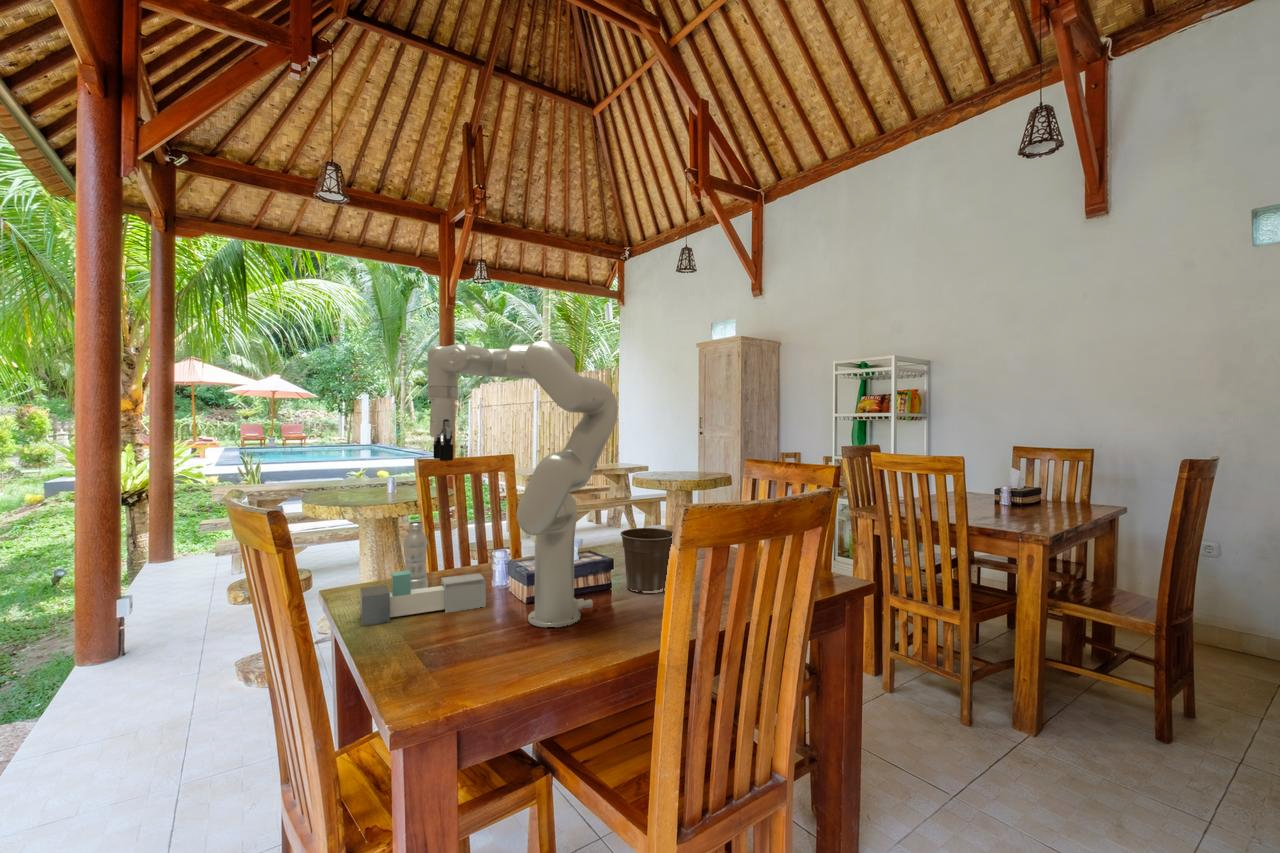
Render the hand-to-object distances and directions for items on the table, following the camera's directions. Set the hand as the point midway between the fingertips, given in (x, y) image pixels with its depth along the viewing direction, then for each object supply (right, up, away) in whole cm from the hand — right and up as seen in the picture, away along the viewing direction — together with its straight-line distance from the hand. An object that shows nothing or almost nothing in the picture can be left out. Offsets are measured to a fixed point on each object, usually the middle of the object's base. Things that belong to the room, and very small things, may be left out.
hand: (443, 459), depth 150 cm
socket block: (-13, -38, -10) cm, 42 cm away
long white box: (-6, -38, -6) cm, 39 cm away
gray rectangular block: (+5, -38, 0) cm, 39 cm away
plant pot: (+54, -39, +16) cm, 68 cm away
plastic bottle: (-11, -38, +10) cm, 41 cm away
